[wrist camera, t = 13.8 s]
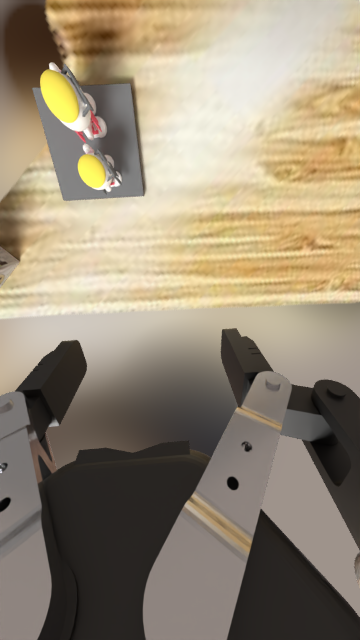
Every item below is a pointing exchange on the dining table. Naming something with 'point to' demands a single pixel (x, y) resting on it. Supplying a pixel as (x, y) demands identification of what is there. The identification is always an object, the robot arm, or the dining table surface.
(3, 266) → the coffee box
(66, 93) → the toy figures
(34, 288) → the dining table surface
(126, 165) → the mat
